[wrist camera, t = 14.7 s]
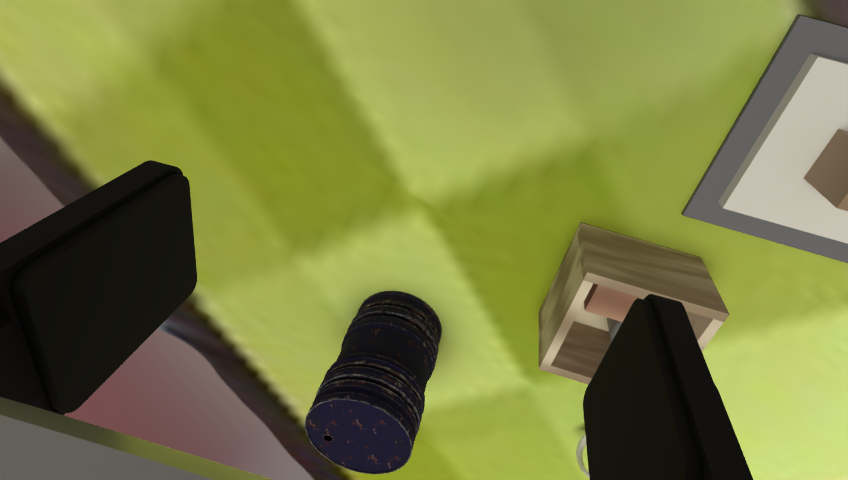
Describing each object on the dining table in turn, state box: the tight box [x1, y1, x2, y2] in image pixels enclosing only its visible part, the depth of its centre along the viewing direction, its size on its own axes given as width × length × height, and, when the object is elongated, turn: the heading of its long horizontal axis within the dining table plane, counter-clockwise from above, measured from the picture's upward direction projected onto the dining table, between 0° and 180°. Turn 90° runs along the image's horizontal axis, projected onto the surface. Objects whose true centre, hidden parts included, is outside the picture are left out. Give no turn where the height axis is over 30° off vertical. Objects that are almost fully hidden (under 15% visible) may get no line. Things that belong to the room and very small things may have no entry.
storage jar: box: [305, 291, 441, 474], centre depth 49 cm, size 10×10×15 cm
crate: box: [539, 222, 730, 384], centre depth 44 cm, size 11×11×8 cm
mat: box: [682, 15, 848, 263], centre depth 38 cm, size 16×16×1 cm
